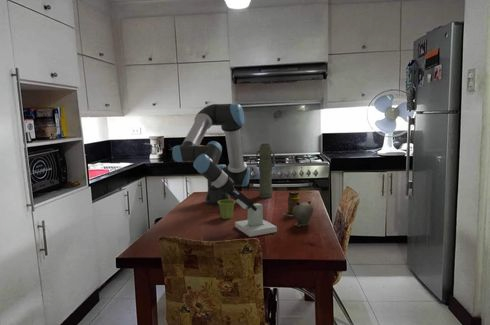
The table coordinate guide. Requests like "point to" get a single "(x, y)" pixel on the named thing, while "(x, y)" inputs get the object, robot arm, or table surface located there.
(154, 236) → the table surface
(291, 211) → the condiment
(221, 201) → the plant pot
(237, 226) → the socket plate
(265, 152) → the thermos
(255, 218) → the key block
